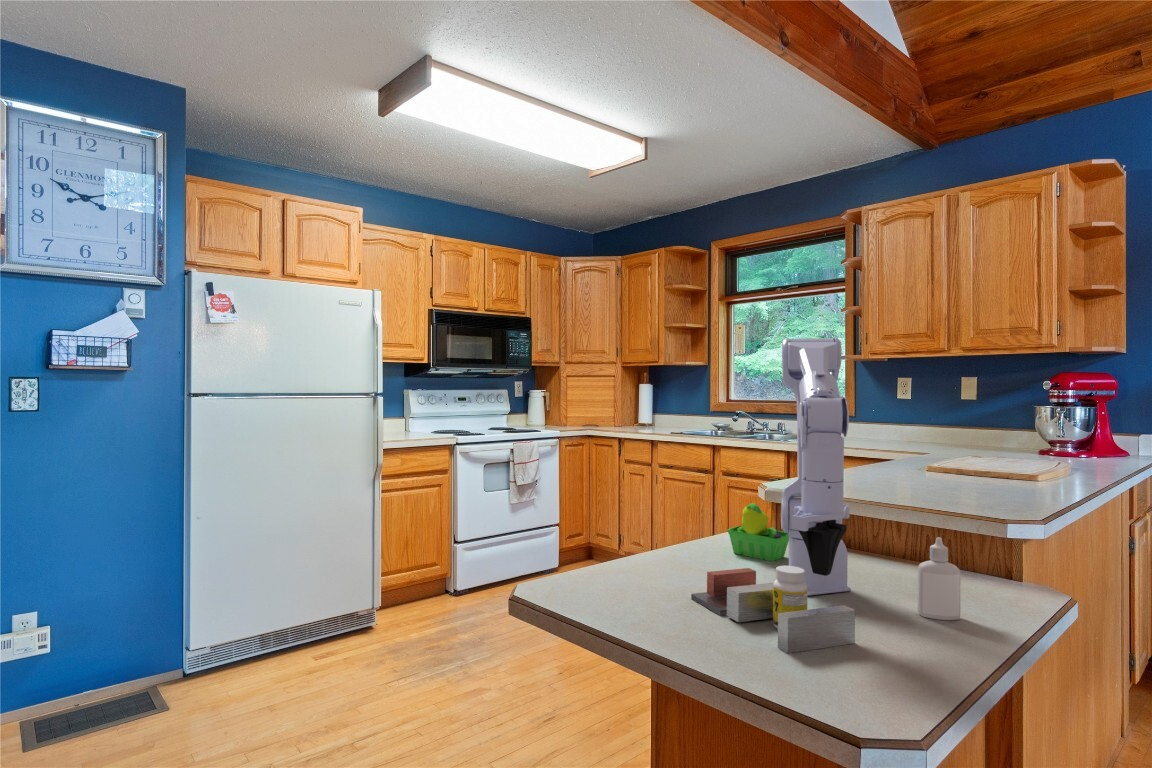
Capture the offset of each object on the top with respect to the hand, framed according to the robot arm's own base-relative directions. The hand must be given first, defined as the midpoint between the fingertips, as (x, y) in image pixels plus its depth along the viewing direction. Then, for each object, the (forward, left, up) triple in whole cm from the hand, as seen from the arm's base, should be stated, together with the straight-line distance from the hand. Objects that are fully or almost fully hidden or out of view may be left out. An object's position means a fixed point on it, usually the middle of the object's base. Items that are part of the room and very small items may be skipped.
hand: (821, 573), depth 94 cm
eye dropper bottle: (-20, +2, -8) cm, 22 cm away
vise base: (+6, -13, -8) cm, 16 cm away
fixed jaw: (+6, +6, -8) cm, 11 cm away
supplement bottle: (+5, -1, -8) cm, 9 cm away
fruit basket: (-16, -38, -8) cm, 42 cm away
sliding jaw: (+6, -10, -7) cm, 14 cm away
